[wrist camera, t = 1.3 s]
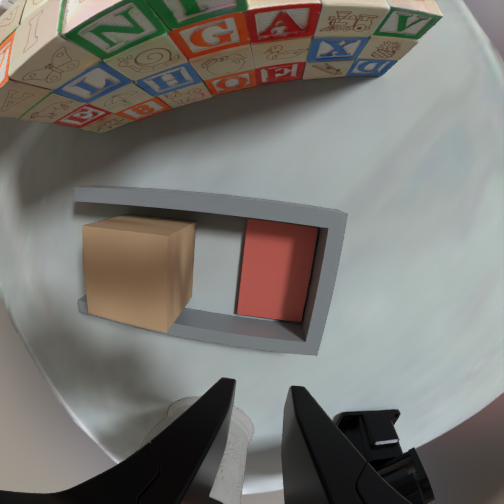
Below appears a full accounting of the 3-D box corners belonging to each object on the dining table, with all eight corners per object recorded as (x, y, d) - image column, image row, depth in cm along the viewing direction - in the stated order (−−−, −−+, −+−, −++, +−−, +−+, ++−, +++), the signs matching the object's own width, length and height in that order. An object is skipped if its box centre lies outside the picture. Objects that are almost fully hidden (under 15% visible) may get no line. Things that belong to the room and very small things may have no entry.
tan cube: (192, 296, 20) (166, 332, 15) (126, 284, 20) (88, 313, 15) (196, 221, 19) (168, 236, 13) (126, 214, 19) (82, 225, 14)
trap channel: (312, 337, 20) (317, 355, 18) (95, 299, 21) (79, 311, 18) (337, 209, 18) (347, 213, 15) (93, 185, 18) (73, 187, 16)
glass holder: (178, 445, 25) (140, 551, 10) (143, 344, 21) (47, 479, 7) (256, 451, 24) (244, 571, 9) (246, 349, 21) (213, 535, 6)
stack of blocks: (357, 12, 14) (410, -87, 2) (383, 77, 15) (480, -6, 3) (96, 71, 16) (-10, 22, 4) (101, 136, 18) (-30, 116, 6)
